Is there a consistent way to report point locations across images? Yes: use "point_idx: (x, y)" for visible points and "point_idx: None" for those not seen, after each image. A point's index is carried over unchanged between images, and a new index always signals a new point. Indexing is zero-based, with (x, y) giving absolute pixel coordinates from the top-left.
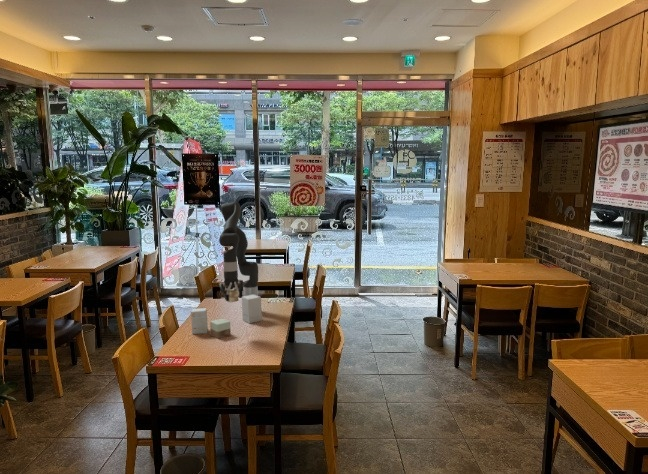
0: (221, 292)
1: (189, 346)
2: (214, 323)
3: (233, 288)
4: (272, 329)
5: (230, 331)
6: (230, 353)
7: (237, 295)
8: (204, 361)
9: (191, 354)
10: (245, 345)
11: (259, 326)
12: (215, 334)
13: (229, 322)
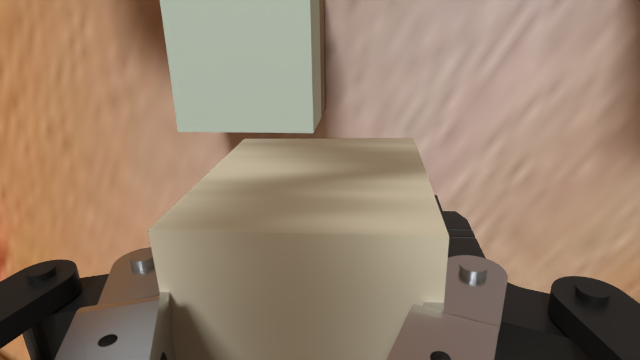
0: (16, 283)
1: (25, 114)
2: (171, 81)
3: (415, 310)
4: (626, 217)
5: (321, 114)
6: None
7: None
8: None
9: (17, 237)
10: None
11: (621, 82)
12: None
13: (306, 131)
